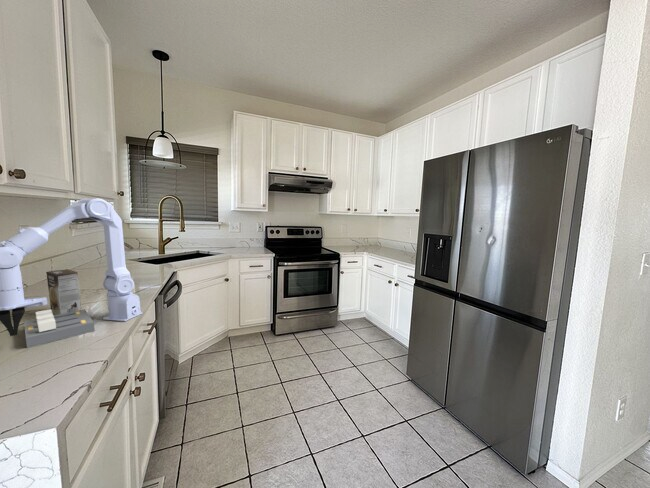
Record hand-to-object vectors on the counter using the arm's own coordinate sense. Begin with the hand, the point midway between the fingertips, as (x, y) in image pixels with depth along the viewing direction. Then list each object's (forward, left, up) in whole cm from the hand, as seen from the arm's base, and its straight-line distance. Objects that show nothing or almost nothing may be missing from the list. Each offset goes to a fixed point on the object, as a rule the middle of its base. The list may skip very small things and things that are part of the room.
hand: (13, 334), depth 77 cm
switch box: (-1, -11, -4) cm, 12 cm away
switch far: (+6, -12, 0) cm, 13 cm away
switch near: (-4, -6, 0) cm, 7 cm away
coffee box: (+14, -25, -4) cm, 29 cm away
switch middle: (+1, -9, 0) cm, 9 cm away
